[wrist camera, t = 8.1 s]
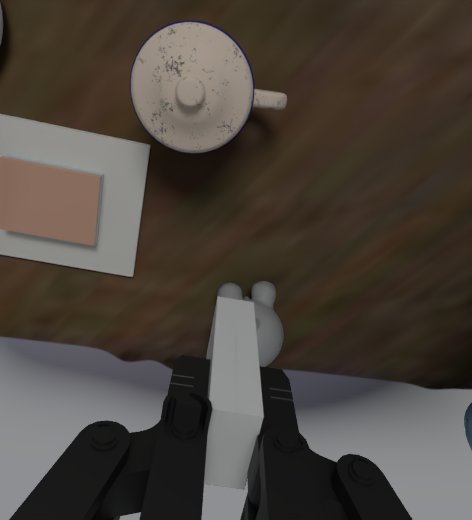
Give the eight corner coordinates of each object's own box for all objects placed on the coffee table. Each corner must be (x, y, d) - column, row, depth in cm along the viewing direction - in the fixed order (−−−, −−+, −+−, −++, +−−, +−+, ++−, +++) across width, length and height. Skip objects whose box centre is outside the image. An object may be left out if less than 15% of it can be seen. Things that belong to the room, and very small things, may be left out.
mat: (150, 144, 41) (149, 145, 41) (133, 275, 47) (132, 277, 46) (-48, 103, 39) (-51, 104, 39) (-42, 244, 45) (-45, 246, 44)
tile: (100, 177, 40) (-1, 157, 39) (93, 245, 43) (-1, 229, 42) (104, 173, 42) (7, 154, 41) (98, 240, 44) (7, 223, 43)
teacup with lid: (145, 133, 41) (119, 153, 30) (150, 25, 37) (122, 4, 27) (270, 148, 42) (287, 173, 31) (286, 44, 38) (312, 32, 28)
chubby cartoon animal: (214, 340, 53) (212, 405, 47) (213, 274, 45) (210, 343, 39) (272, 340, 53) (277, 406, 47) (282, 275, 45) (290, 344, 39)
